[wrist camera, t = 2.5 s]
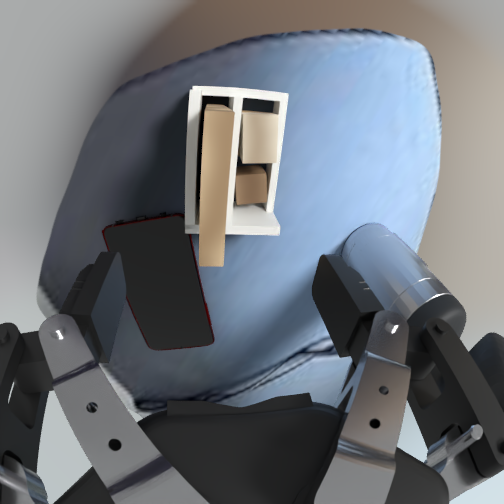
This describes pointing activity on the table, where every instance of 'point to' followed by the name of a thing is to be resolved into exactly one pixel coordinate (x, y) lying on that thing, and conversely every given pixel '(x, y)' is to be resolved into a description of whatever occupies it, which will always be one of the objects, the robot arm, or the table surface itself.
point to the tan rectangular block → (215, 183)
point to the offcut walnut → (250, 185)
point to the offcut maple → (258, 137)
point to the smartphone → (162, 281)
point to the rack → (232, 164)
